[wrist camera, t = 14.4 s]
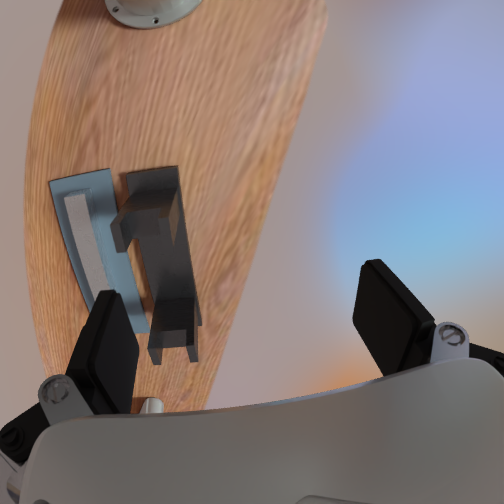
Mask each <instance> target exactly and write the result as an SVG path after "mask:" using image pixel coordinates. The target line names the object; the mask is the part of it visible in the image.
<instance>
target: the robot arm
mask: <svg viewBox="0 0 504 504" xmlns="http://www.w3.org/2000/svg"><path fill="white" fill-rule="evenodd" d="M201 2H202V0H105V4H106V7H107V9H108V11H109V12H110V14H111V15H112V16H113V17H114V18H115V19H116V20H118V21H119V22H121V23H122V24H124V25H127V26H129V27H133V28H138V29H153V28H160V27H164V26H167V25H170V24H173V23H175V22H177V21H179V20H181V19H183V18H184V17H186V16H188V15H189V14H190V13H191V12H192V11H194V10H195V9H196V8H197V7H198V5H199V4H200V3H201ZM117 10H119V11H118V12H116V11H117ZM155 21H159V22H158V23H157V24H155ZM434 320H435V319H434V318H433V316H432V315H431V314H430V313H429V312H428V311H427V309H426V308H425V307H424V306H423V305H422V304H421V303H420V301H419V300H418V299H417V298H416V297H415V296H414V295H413V294H412V292H411V291H410V290H409V289H408V288H407V287H406V286H405V285H404V284H403V283H402V281H401V280H400V279H399V278H398V277H397V276H396V275H395V274H394V273H393V272H392V271H391V270H390V269H389V268H388V267H387V265H386V264H384V262H383V261H382V260H381V259H374V260H367V261H366V262H365V264H364V265H362V266H361V271H360V277H359V284H358V290H357V296H356V301H355V307H354V312H353V324H354V326H355V328H356V329H357V331H358V333H359V334H360V336H361V338H362V340H363V341H364V343H365V345H366V346H367V348H368V350H369V352H370V353H371V355H372V357H373V359H374V360H375V362H376V364H377V366H378V367H379V369H380V371H381V373H382V374H383V376H384V377H381V378H377V379H374V380H370V381H366V382H363V383H359V384H355V385H351V386H347V387H343V388H339V389H335V390H330V391H326V392H321V393H317V394H312V395H307V396H302V397H296V398H291V399H285V400H280V401H274V402H268V403H261V404H254V405H247V406H239V407H230V408H221V409H213V410H212V409H211V410H200V411H186V412H168V413H143V414H130V411H131V403H132V396H133V389H134V382H135V376H136V369H137V363H138V357H139V345H138V342H137V339H136V336H135V334H134V331H133V328H132V325H131V323H130V320H129V317H128V314H127V311H126V308H125V305H124V302H123V299H122V296H121V294H120V293H116V291H115V290H114V289H111V290H101V291H100V292H99V293H98V296H97V298H96V300H95V303H94V305H93V307H92V310H91V312H90V314H89V317H88V319H87V322H86V324H85V326H83V328H82V330H81V333H80V335H79V338H78V340H77V343H76V345H75V348H74V351H73V353H72V356H71V359H70V362H69V364H68V367H67V370H66V373H65V375H62V374H58V375H53V376H51V377H49V378H48V379H46V380H45V381H44V382H43V383H42V384H41V386H40V388H39V390H38V398H39V403H37V404H35V405H34V406H33V407H31V408H30V409H28V410H27V411H25V412H24V413H22V414H21V415H19V416H18V417H17V418H15V419H14V420H12V421H10V422H9V423H7V424H6V425H5V426H4V427H3V428H2V429H1V431H0V504H504V354H503V353H501V352H498V351H494V350H491V349H488V348H485V347H482V346H478V345H475V344H472V343H469V336H468V334H467V332H466V331H465V329H464V328H462V327H461V326H459V325H457V324H455V323H452V322H443V323H440V324H439V325H437V326H436V324H435V323H434Z"/></svg>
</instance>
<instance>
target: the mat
mask: <svg viewBox="0 0 504 504" xmlns="http://www.w3.org/2000/svg"><path fill="white" fill-rule="evenodd" d="M49 183H50V187H51V192H52V196H53V200H54V204H55V208H56V212H57V216H58V220H59V223H60V227H61V231H62V234H63V237H64V241H65V244H66V247H67V251H68V254H69V257H70V260H71V263H72V266H73V269H74V272H75V274H76V277H77V280H78V283H79V286H80V288H81V291H82V294H83V296H84V299H85V301H86V304H87V306H88V309H89V311H90V312H91V310H92V307H93V305H94V303H95V300H94V297H93V294H92V292H91V289H90V286H89V283H88V280H87V277H86V274H85V271H84V268H83V265H82V262H81V259H80V256H79V253H78V249H77V246H76V242H75V239H74V235H73V232H72V228H71V224H70V221H69V217H68V213H67V209H66V205H65V200H64V197H66V196H67V195H68V194H69V193H71V192H73V191H78V190H83V189H89V188H91V190H92V195H93V200H94V204H95V209H96V213H97V218H98V222H99V226H100V230H101V234H102V238H103V242H104V246H105V249H106V253H107V257H108V260H109V264H110V267H111V271H112V274H113V277H114V281H115V284H116V287H117V290H118V293H120V294H121V296H122V299H123V302H124V305H125V308H126V311H127V314H128V317H129V320H130V323H131V325H132V328H133V331H134V334H135V333H150V328H149V325H148V322H147V319H146V316H145V312H144V309H143V306H142V303H141V299H140V296H139V293H138V289H137V286H136V282H135V278H134V275H133V271H132V267H131V264H130V260H129V256H128V252H127V251H126V252H124V253H117V252H116V249H115V245H114V241H113V237H112V233H111V229H110V224H111V222H112V221H113V220H114V218H115V217H116V215H117V214H118V208H117V203H116V198H115V193H114V188H113V183H112V177H111V171H110V168H109V169H103V170H98V171H93V172H88V173H84V174H79V175H74V176H70V177H65V178H61V179H57V180H53V181H50V182H49Z"/></svg>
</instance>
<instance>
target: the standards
mask: <svg viewBox="0 0 504 504" xmlns="http://www.w3.org/2000/svg"><path fill="white" fill-rule="evenodd" d="M126 179H127V185H128V191H129V196H130V197H129V198H128V200H127V201H126V203H125V204H124V205H123V207H122V208H121V210H120V211H119V212H118V214H117V215H116V217H115V218H114V220H113V221H112V222H111V224H110V229H111V233H112V237H113V241H114V245H115V249H116V252H117V253H124V252H126V251H127V249H128V247H129V245H130V243H131V240H132V239H136V238H138V241H139V245H140V249H141V254H142V258H143V262H144V266H145V270H146V274H147V278H148V282H149V286H150V290H151V293H152V297H153V301H154V304H155V307H154V312H153V318H152V324H151V329H150V335H149V342H148V348H147V349H148V352H149V355H150V357H151V360H152V362H153V365H161V361H162V351H163V348H173V347H185V346H186V348H187V352H188V355H189V359H190V363H191V362H198V326H202V318H201V312H200V307H199V302H198V296H197V291H196V285H195V279H194V273H193V268H192V261H191V255H190V249H189V243H188V236H187V229H186V223H185V216H184V208H183V201H182V193H181V186H180V178H179V169H178V166H171V167H164V168H157V169H150V170H143V171H137V172H131V173H128V174H127V175H126Z"/></svg>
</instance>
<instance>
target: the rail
mask: <svg viewBox="0 0 504 504" xmlns="http://www.w3.org/2000/svg"><path fill="white" fill-rule="evenodd" d="M64 200H65V205H66V209H67V213H68V217H69V221H70V224H71V228H72V232H73V235H74V239H75V242H76V246H77V249H78V253H79V256H80V259H81V262H82V265H83V268H84V271H85V274H86V277H87V280H88V283H89V286H90V289H91V292H92V294H93V297H94V300H96V298H97V296H98V293H99V292H100V291H101V290H111V289H114V290H115V291H116V293H118V290H117V287H116V284H115V281H114V277H113V274H112V271H111V267H110V264H109V260H108V257H107V253H106V249H105V246H104V242H103V238H102V234H101V230H100V226H99V222H98V218H97V213H96V209H95V204H94V200H93V195H92V190H91V188H89V189H83V190H78V191H73V192H71V193H69V194H68V195H67V196H66V197H64Z"/></svg>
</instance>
